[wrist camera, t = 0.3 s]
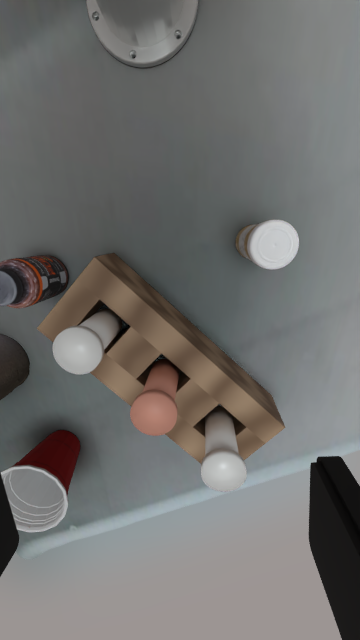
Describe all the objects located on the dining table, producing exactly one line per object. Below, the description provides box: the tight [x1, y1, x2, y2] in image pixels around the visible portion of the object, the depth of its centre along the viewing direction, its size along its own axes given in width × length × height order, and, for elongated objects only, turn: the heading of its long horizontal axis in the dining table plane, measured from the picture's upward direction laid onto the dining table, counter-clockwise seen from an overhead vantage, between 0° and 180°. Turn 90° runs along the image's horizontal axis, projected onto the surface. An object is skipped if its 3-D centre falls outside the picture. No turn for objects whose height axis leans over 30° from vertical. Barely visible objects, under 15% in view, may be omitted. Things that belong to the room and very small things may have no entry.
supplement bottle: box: [0, 255, 68, 308], centre depth 38 cm, size 6×6×11 cm
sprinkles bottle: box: [236, 220, 299, 269], centre depth 34 cm, size 5×5×14 cm
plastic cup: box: [1, 430, 80, 532], centre depth 46 cm, size 11×11×12 cm
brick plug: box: [130, 359, 179, 436], centre depth 35 cm, size 5×5×10 cm
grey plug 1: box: [53, 308, 122, 374], centre depth 34 cm, size 5×5×10 cm
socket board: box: [37, 253, 285, 463], centre depth 42 cm, size 32×12×8 cm, turn 48°
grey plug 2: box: [201, 406, 247, 492], centre depth 37 cm, size 5×5×10 cm
